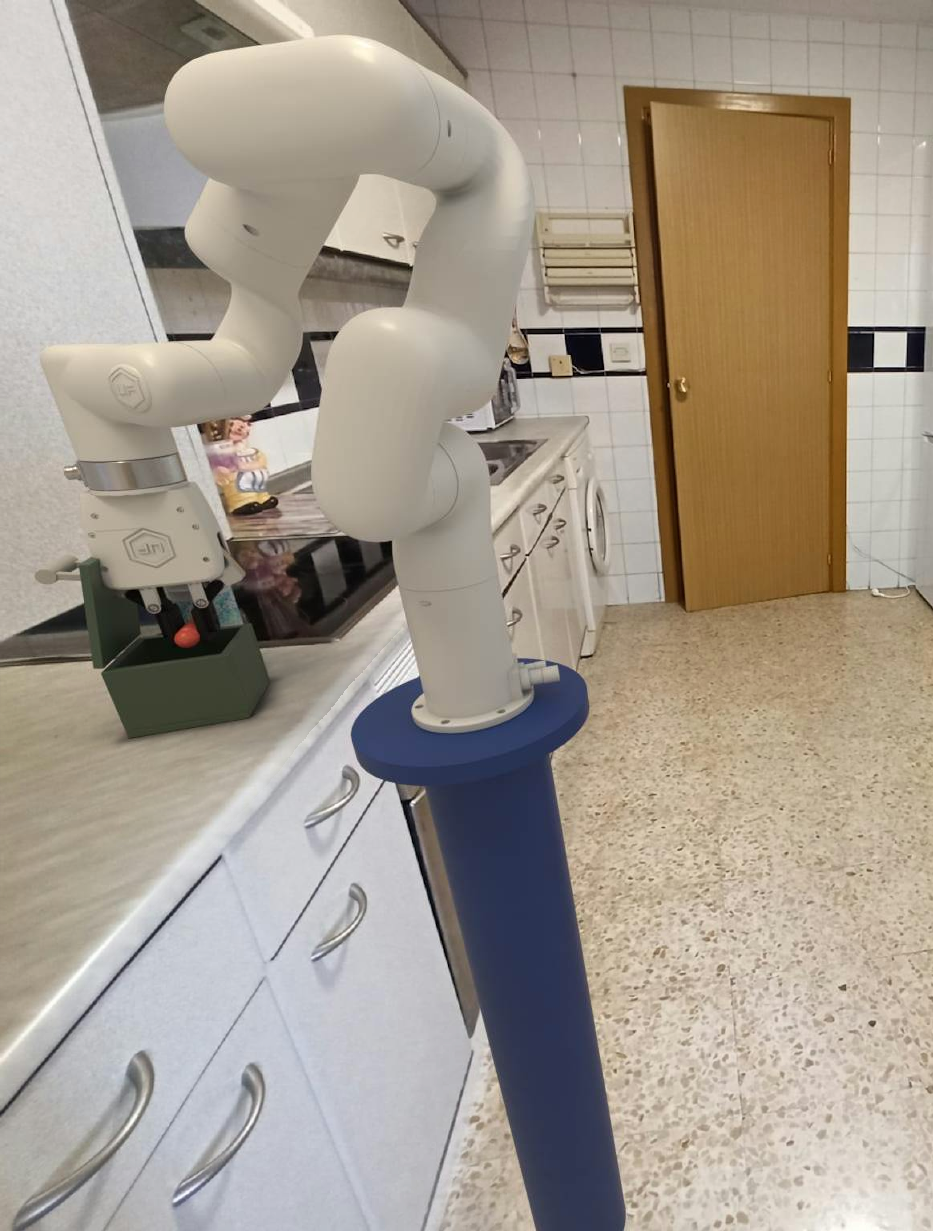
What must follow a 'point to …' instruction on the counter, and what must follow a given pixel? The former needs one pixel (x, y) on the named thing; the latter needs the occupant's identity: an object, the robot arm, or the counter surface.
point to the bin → (187, 682)
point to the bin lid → (97, 607)
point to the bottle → (222, 603)
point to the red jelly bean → (187, 635)
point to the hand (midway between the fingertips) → (195, 638)
